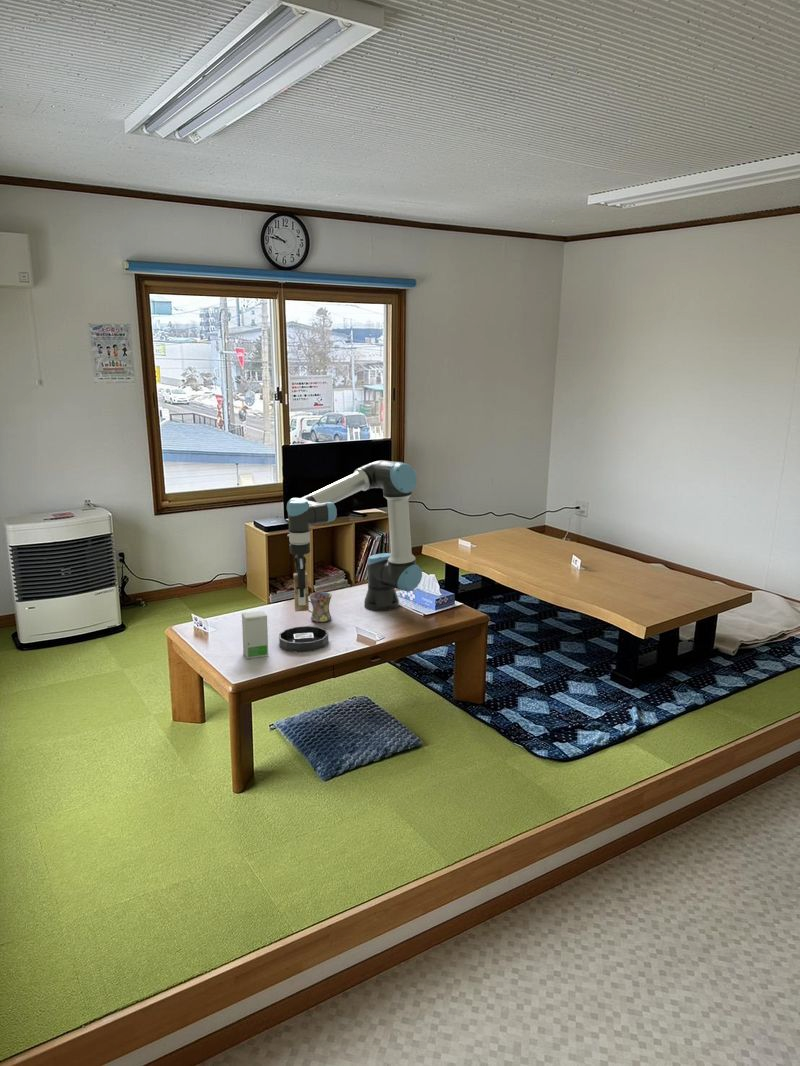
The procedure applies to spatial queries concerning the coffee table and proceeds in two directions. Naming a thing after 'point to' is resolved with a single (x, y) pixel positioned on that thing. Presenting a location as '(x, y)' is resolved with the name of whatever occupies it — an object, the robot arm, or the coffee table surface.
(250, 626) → the skincare box
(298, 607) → the brown cardboard box
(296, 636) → the wick clip
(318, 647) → the dark grey round tray
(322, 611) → the mug
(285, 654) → the coffee table surface
